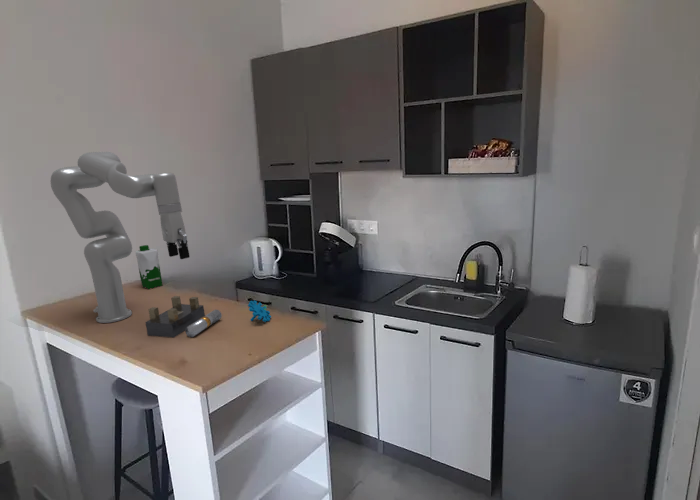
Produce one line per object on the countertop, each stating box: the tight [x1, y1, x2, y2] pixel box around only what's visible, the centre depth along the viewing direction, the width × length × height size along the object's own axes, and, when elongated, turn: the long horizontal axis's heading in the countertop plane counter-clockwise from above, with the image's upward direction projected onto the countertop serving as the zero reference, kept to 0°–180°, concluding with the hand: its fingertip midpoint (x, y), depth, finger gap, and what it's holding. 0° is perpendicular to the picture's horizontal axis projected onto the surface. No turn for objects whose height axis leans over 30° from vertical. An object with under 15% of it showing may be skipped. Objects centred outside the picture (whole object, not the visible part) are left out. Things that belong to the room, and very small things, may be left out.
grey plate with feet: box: [145, 295, 206, 338], centre depth 159 cm, size 11×18×9 cm, turn 163°
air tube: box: [184, 309, 223, 338], centre depth 156 cm, size 16×4×4 cm, turn 163°
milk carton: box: [134, 244, 164, 290], centre depth 211 cm, size 9×9×20 cm
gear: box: [247, 299, 272, 323], centre depth 161 cm, size 11×6×10 cm
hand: (179, 257), depth 155 cm, fingers open, 9 cm apart
